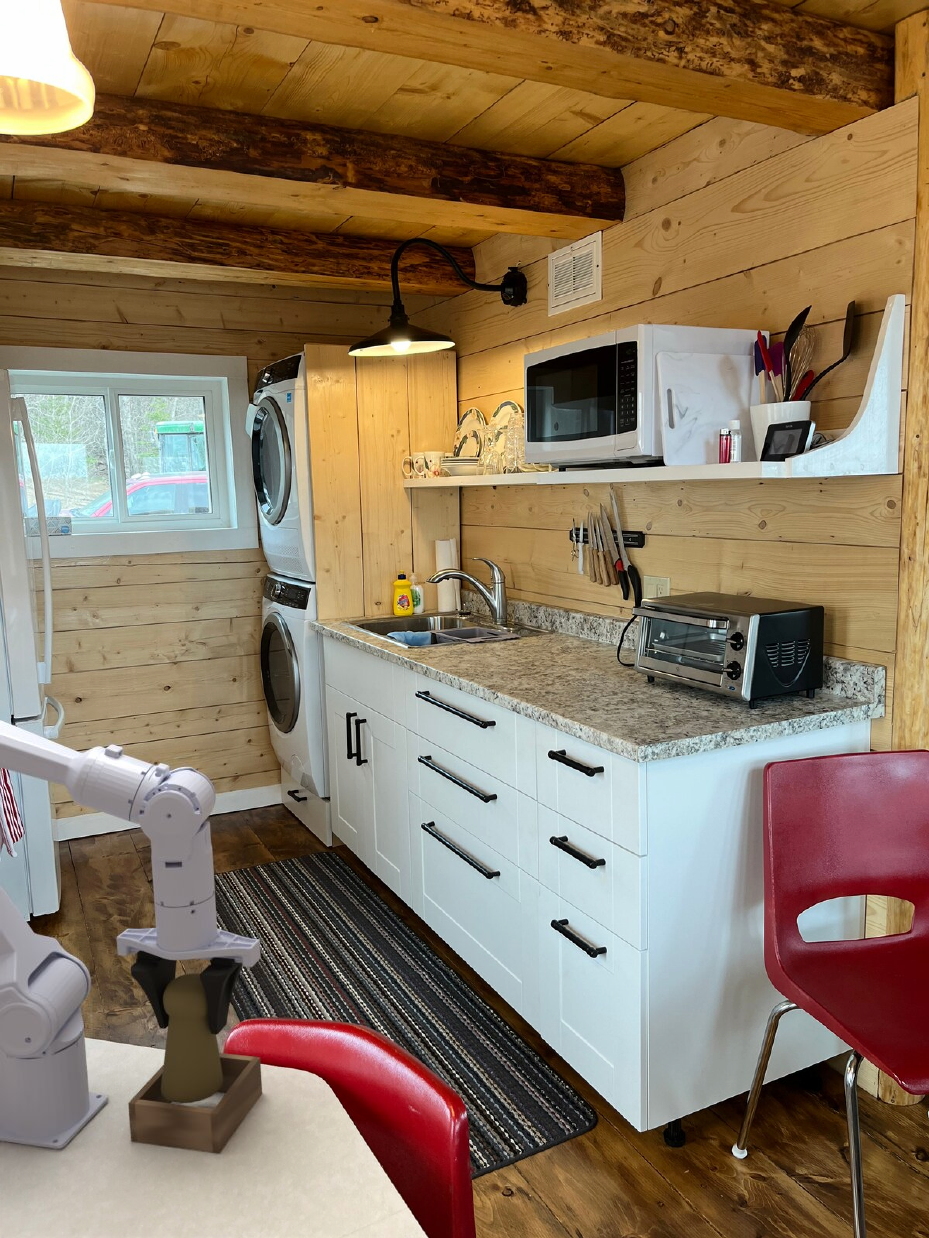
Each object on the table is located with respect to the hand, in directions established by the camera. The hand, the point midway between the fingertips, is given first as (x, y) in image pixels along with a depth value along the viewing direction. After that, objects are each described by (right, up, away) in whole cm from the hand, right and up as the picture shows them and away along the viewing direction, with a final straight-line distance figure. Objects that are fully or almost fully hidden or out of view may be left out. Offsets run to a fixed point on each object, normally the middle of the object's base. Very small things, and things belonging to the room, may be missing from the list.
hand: (193, 1025), depth 94 cm
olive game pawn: (0, -6, 0) cm, 6 cm away
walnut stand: (0, -10, +1) cm, 10 cm away
